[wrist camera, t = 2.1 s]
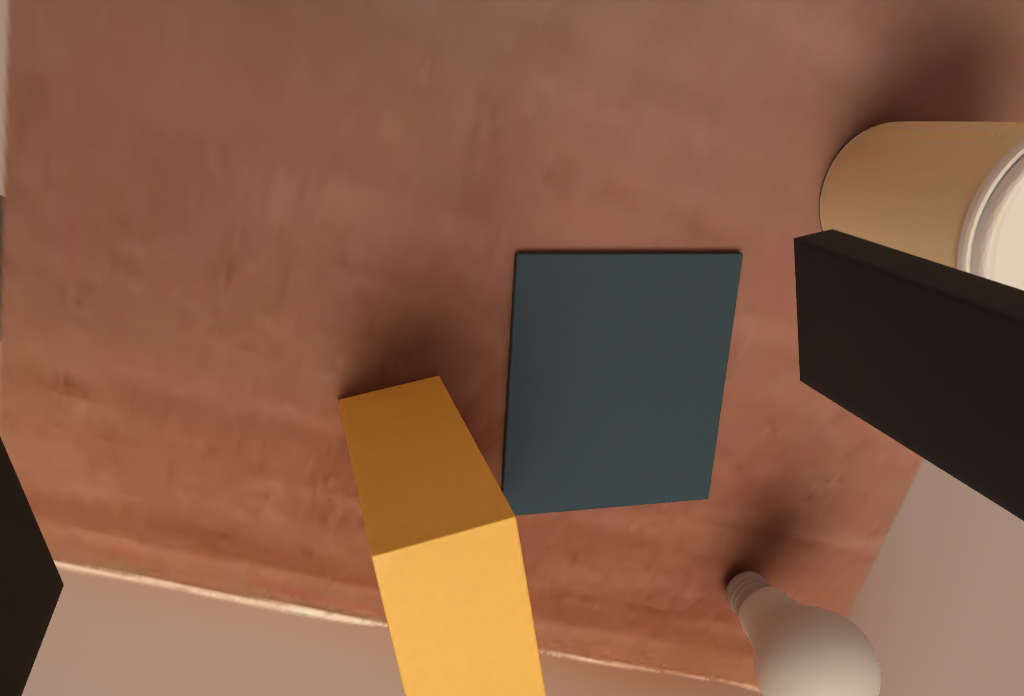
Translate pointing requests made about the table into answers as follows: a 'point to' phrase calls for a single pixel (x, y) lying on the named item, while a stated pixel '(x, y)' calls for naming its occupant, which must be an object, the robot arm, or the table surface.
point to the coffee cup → (935, 193)
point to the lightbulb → (801, 644)
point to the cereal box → (441, 546)
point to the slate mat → (615, 377)
